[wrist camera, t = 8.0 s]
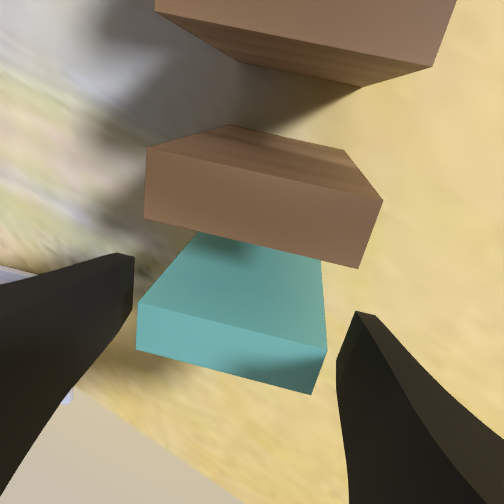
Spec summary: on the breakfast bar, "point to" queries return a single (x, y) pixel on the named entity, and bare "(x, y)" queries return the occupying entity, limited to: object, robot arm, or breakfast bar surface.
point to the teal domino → (238, 312)
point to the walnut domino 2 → (263, 192)
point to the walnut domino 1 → (320, 34)
